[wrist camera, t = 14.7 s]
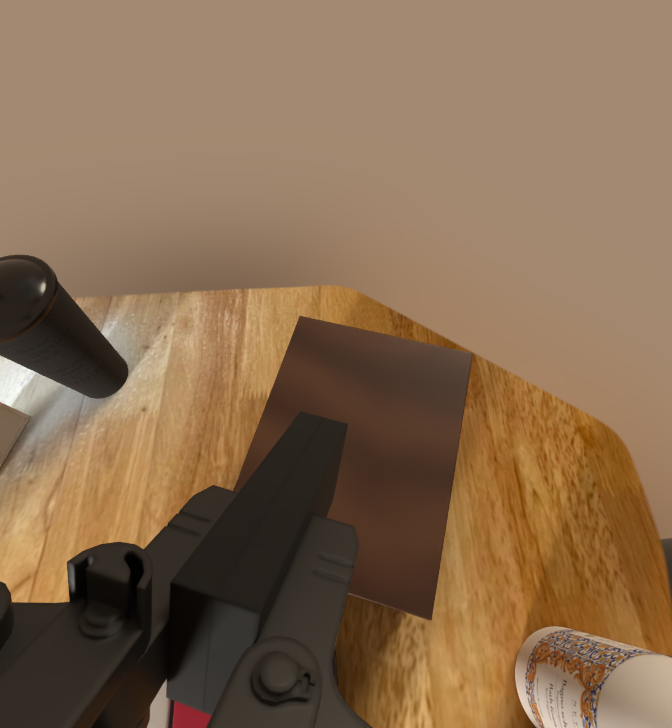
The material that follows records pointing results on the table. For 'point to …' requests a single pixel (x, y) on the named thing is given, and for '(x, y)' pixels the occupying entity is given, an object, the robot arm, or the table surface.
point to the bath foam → (592, 682)
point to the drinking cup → (53, 331)
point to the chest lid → (378, 447)
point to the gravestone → (10, 428)
